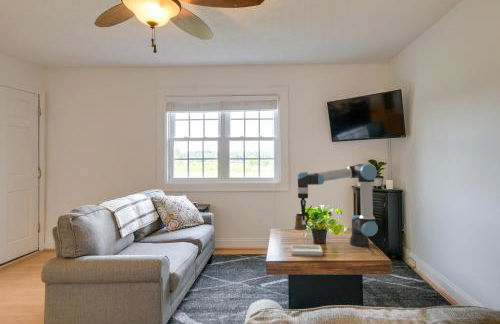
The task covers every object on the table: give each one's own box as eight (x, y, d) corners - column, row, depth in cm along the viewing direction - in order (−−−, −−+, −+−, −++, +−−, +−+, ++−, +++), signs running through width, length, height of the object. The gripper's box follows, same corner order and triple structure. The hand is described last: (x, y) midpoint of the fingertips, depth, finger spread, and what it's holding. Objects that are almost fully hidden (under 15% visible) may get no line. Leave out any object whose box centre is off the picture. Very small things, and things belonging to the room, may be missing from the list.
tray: (320, 249, 237) (320, 245, 237) (322, 255, 221) (322, 251, 221) (291, 248, 240) (291, 244, 240) (291, 255, 224) (291, 251, 224)
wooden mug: (311, 231, 226) (311, 206, 226) (293, 230, 231) (292, 205, 231) (313, 228, 235) (313, 204, 234) (295, 227, 239) (295, 204, 239)
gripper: (297, 191, 243) (298, 220, 244) (298, 194, 224) (298, 226, 224) (307, 191, 242) (307, 220, 243) (308, 194, 223) (309, 226, 223)
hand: (303, 223), depth 233 cm, fingers closed on wooden mug, 7 cm apart
